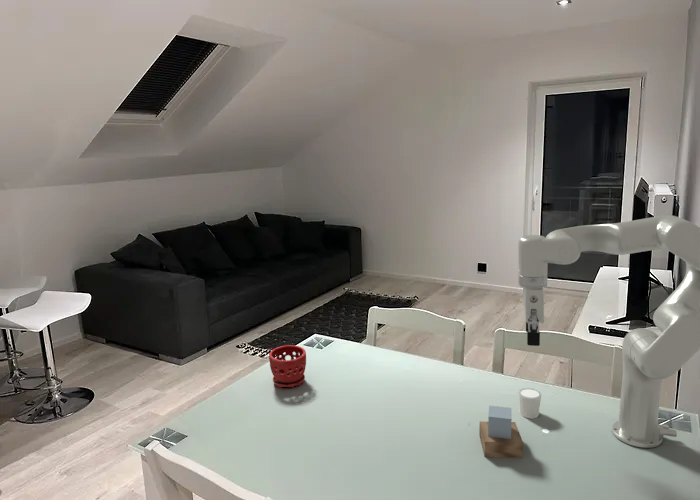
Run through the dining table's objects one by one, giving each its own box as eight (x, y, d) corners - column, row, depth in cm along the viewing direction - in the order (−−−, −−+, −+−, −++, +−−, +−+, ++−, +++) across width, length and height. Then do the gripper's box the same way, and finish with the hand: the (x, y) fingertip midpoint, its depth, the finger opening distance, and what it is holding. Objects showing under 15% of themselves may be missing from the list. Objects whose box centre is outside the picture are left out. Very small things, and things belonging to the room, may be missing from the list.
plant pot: (263, 385, 186) (261, 354, 183) (288, 371, 196) (285, 342, 194) (291, 395, 179) (289, 362, 176) (314, 379, 189) (313, 349, 186)
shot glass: (542, 420, 157) (543, 399, 156) (518, 418, 159) (519, 397, 157) (538, 408, 164) (539, 388, 162) (516, 407, 165) (516, 387, 164)
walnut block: (514, 437, 150) (515, 422, 149) (522, 458, 140) (523, 442, 139) (479, 436, 151) (479, 421, 150) (484, 458, 141) (484, 441, 140)
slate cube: (510, 427, 146) (511, 407, 145) (510, 439, 141) (511, 419, 139) (488, 424, 148) (489, 405, 147) (488, 436, 142) (488, 416, 141)
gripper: (549, 289, 134) (549, 351, 137) (544, 272, 150) (544, 327, 153) (519, 289, 136) (519, 350, 139) (517, 271, 152) (517, 326, 156)
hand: (532, 338), depth 146 cm, fingers open, 9 cm apart
